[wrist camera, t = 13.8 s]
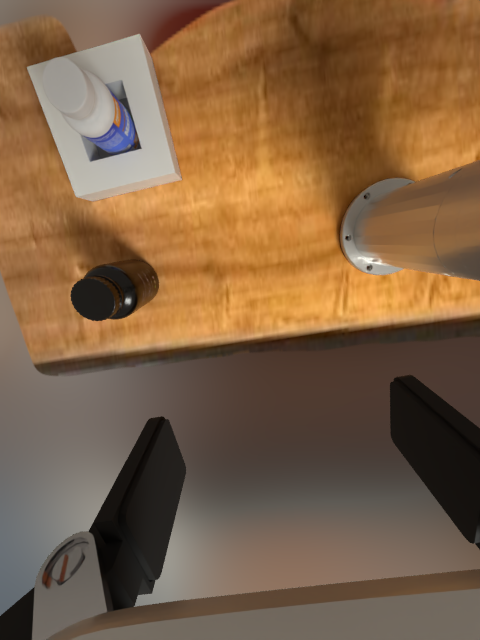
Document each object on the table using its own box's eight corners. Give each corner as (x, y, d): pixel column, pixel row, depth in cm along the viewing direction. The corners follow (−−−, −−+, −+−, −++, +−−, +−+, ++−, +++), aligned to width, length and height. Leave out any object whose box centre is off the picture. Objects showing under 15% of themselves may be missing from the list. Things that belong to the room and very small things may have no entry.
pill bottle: (149, 148, 30) (107, 106, 21) (112, 166, 31) (57, 133, 22) (127, 100, 29) (73, 32, 20) (90, 120, 30) (20, 63, 20)
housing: (151, 58, 28) (139, 33, 25) (182, 179, 32) (175, 172, 29) (51, 87, 29) (26, 66, 26) (92, 201, 33) (76, 196, 30)
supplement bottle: (123, 305, 38) (71, 333, 26) (110, 262, 36) (48, 271, 24) (165, 300, 37) (131, 326, 26) (155, 256, 35) (113, 263, 24)
